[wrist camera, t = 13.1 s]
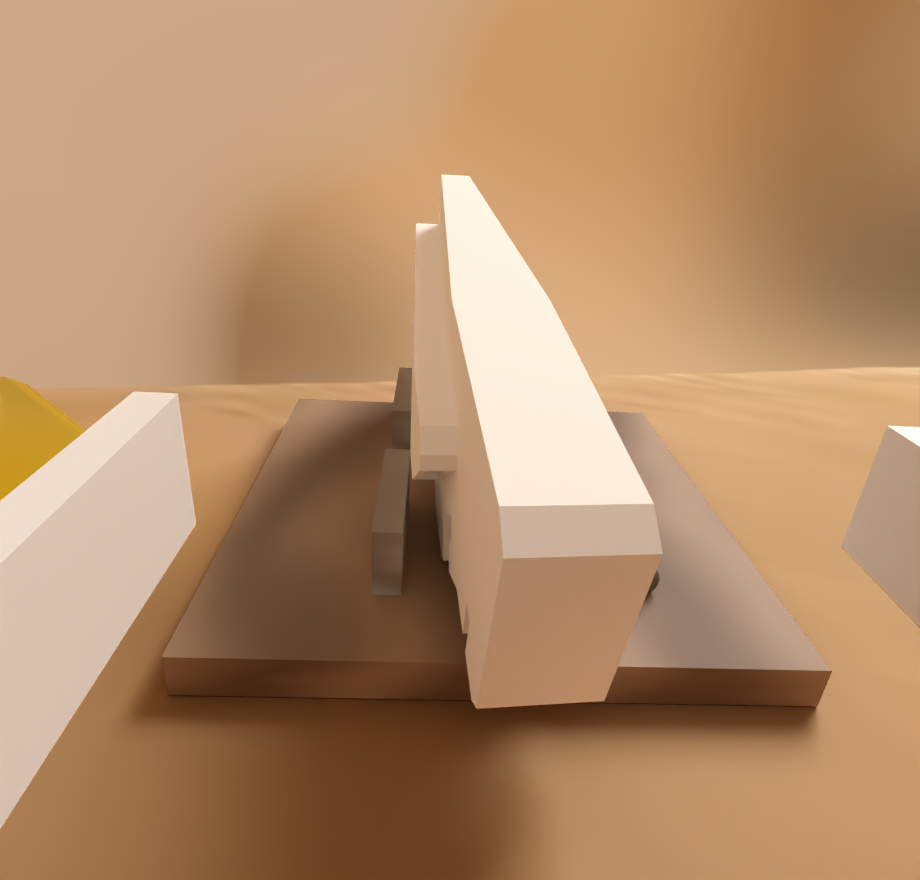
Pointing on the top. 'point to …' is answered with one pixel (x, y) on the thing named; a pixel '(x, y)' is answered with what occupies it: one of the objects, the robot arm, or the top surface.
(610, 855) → the top surface
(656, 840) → the top surface
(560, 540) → the shelf bracket
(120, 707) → the top surface
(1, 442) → the element tile
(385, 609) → the hinge board
